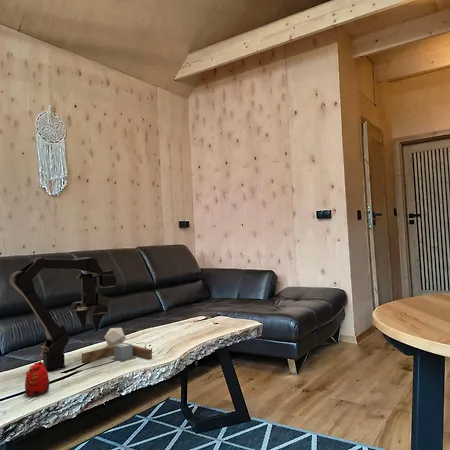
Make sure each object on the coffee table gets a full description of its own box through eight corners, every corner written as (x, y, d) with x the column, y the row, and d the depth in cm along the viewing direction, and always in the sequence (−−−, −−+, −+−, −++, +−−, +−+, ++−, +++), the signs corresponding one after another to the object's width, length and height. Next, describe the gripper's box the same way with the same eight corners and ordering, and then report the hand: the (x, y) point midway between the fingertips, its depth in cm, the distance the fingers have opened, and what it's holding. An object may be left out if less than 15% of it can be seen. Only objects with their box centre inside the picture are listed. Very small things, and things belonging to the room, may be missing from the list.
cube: (132, 357, 164) (132, 344, 164) (121, 360, 160) (121, 347, 160) (125, 355, 167) (124, 342, 167) (114, 358, 163) (114, 345, 163)
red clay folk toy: (23, 391, 130) (22, 343, 131) (47, 386, 134) (46, 340, 134) (26, 399, 124) (25, 348, 124) (51, 394, 127) (50, 344, 128)
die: (114, 351, 177) (127, 331, 180) (98, 341, 178) (111, 321, 181) (119, 353, 184) (131, 334, 187) (103, 343, 186) (115, 324, 189)
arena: (109, 371, 147) (109, 361, 147) (81, 362, 159) (81, 353, 159) (152, 358, 161) (151, 349, 162) (123, 351, 174) (123, 342, 174)
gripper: (120, 288, 163) (121, 328, 163) (94, 285, 176) (95, 323, 175) (95, 291, 155) (95, 333, 154) (69, 288, 167) (70, 327, 167)
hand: (90, 329), depth 163 cm, fingers open, 9 cm apart
